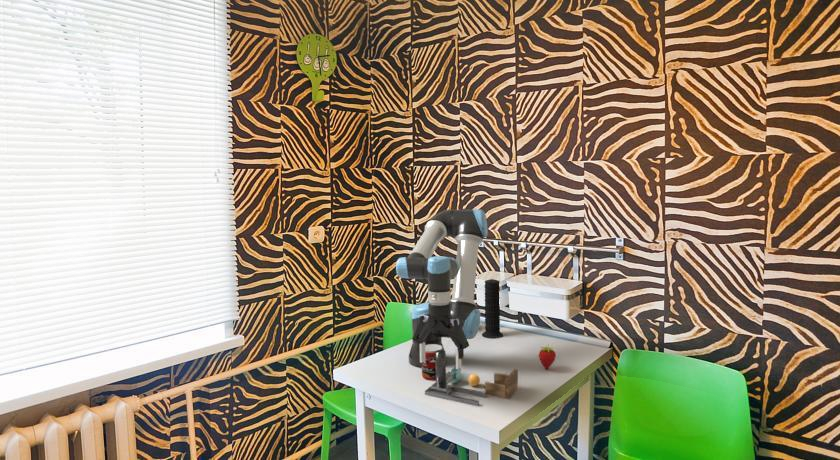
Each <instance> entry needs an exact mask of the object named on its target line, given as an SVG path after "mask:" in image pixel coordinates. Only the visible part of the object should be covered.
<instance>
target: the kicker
mask: <svg viewBox="0 0 840 460" xmlns="http://www.w3.org/2000/svg"><path fill="white" fill-rule="evenodd" d="M444 350H445V349H444ZM444 350H437V351H435V357H436V380H435V382H434V383H433V384H431V391H435V392H439V393H444V394H449V395H450V393H451V392H453V391H452V386H453V385H451V384H450V383H452V384H458V383H459V382H460V381H461V380H462V378H461V377H462V372H461V371H462V367H460V368H459V369H456V366H455V367H453V368H452V369H451V370H450V371H448V372H447V369H446V362H447V355H446V356H445V353H446V350H445V351H444ZM446 372H447V373H446Z"/></svg>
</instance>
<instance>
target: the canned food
mask: <svg viewBox="0 0 840 460" xmlns="http://www.w3.org/2000/svg"><path fill="white" fill-rule="evenodd" d="M437 350H443V348H442V346H440V345H437V344H429V345H425V359H426V360H425V361H424V362H422V367H421V376H422V379H424V380H427V381H436V357H435V351H437Z"/></svg>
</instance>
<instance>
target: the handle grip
mask: <svg viewBox="0 0 840 460" xmlns="http://www.w3.org/2000/svg"><path fill="white" fill-rule="evenodd" d="M499 285H500V280H498V279H493V278H491V279H486V280H484V309H485V310H484V322H485V323H484V325H485V326H484V327H485V328H484V332H482V333H481V336H482V337H483V338H485V339H486V338H487V339H500V338H503V337H504V334H503V332H501V331H500V330H501V327H500V326H501V324H500V323H501V320H500V318H501V317H500V315H501V313H500V312H501V310H500V308H501V307H500V305H501V303H500V304H499V299H500V298H501V297H499V292H500V291H501V290H500V288H499Z"/></svg>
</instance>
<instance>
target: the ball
mask: <svg viewBox="0 0 840 460" xmlns="http://www.w3.org/2000/svg"><path fill="white" fill-rule="evenodd" d="M480 382H481V379H480V377H479V375H477V374H474V373H472V374H470V376H469V377H468V384H469V385H470V386H472V387H476V386H478V385H479V384H480Z"/></svg>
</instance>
